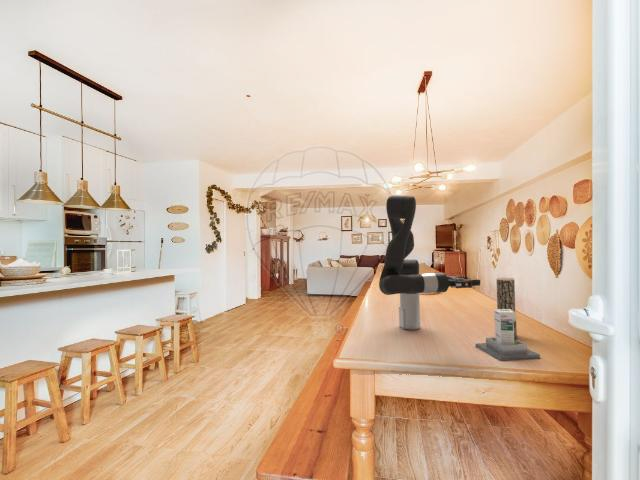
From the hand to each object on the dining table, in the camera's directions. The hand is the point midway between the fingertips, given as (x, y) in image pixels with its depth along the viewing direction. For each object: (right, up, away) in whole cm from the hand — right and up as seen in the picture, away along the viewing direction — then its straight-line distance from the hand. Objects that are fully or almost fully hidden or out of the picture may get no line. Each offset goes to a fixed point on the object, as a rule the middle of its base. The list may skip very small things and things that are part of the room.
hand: (473, 280), depth 123 cm
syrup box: (+11, -25, -2) cm, 28 cm away
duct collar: (+11, -26, -3) cm, 29 cm away
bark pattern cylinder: (+23, -26, +18) cm, 39 cm away
